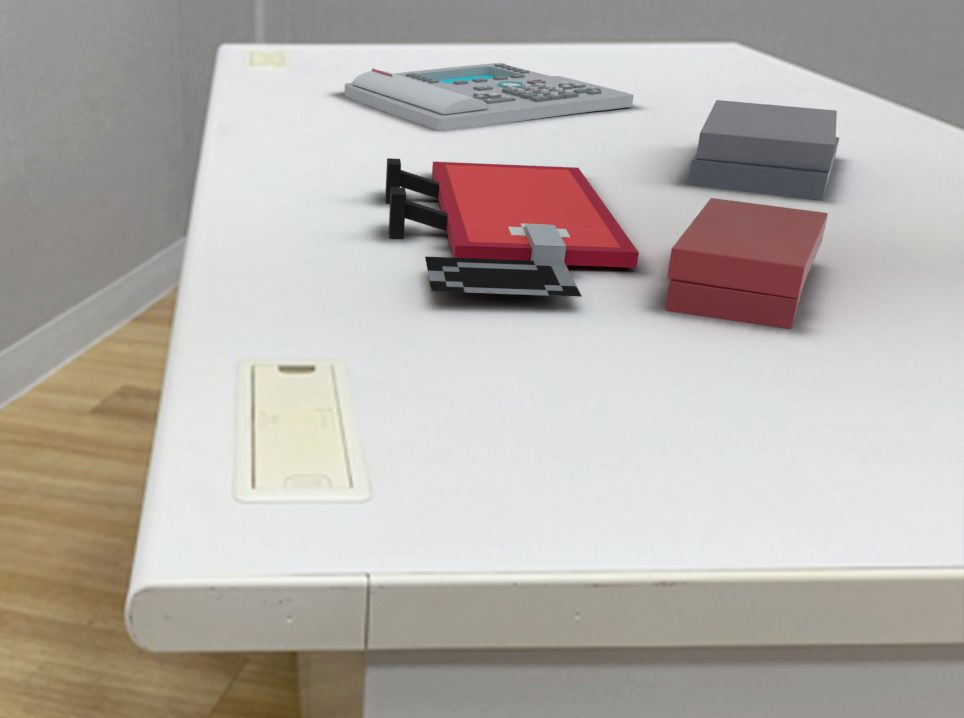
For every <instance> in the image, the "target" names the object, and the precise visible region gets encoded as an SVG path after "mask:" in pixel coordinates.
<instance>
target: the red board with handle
mask: <svg viewBox="0 0 964 718" xmlns="http://www.w3.org/2000/svg"><path fill="white" fill-rule="evenodd" d="M385 171H386V173H385V195H384V199H385V204H386V205H389V213H388V214H389V215H388V237H389V239H399V240H400V239H401V240H404V238H405V223H406V220H409V221H412V222H415V223H419V224H422V225H425V226H428V227H431V228H434V229H438V230H441V231H444V232H446V234H447V239H448V243H449V245H450V251H451V254H452V257H450V256H449V257H447V256H424V259H425V264H426V270H427V275H428V280H429V286H430V291H431V292H441V293H442V292H443V293H444V292H445V293H448V292H449V293H468V294H469V293H471V294H497V295H499V294H500V295H522V296H523V295H525V296H551V297H552V296H554V297H577V298H578V297H579V298H581V297H583V296H582V294H581V291H580V289H579V288H578V286H577V283H576V282H575V280H574V278H573V276H572V273H570V270H569V268H568V266H580V267H582V266H583V267H609V268H631V269H632V268H633V269H637V268H638V267H637V266H638V260H639V255H640V252H639V251H638V249H637V248H636V246H635V245H634V243H633V242H632V241H631V239H630V238H629V237H628V235H627V234H626V232H625V231H624V229H623V228H622V227H621V225H620V224H619V222H618V221H617V219H616V218H615V217H614V215H613V214H612V213H611V211H610V210H609V208H608V207H607V205H606V204H605V203H604V201H603V200H602V199H601V197H600V196H599V194H598V193H597V191H596V190H595V189H594V187H593V185H592V184H591V183H590V182H589V180H588V179H587V177H586V176H585V174H584V173H583V172H582V170H581V169H580V168H579V167H577V166H575V167H574V166H549V165H527V164H525V165H524V164H506V163H505V164H502V163H476V162H458V161H457V162H453V161H452V162H451V161H432V168H431V176H432V179H430V178H427V177H424V176H422V175H419V174H415V173H412V172H409V171H406V170H403V169H402V161H401V158H390V157H389V158H388V157H387V158H386V170H385ZM406 190H409V191H412V192H416V193H419V194H421V195H425V196H428V197H431V198H434V199H437V200H438V203H439V207H440V209H436V208H433V207H430V206H427V205H424V204H421V203H418V202H414V201H411V200H408V199H407V191H406Z"/></svg>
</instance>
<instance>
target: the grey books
mask: <svg viewBox="0 0 964 718" xmlns="http://www.w3.org/2000/svg"><path fill="white" fill-rule="evenodd" d="M837 118H838V110H834V109H825V108H824V109H823V108H814V107H802V106H801V107H800V106H791V105H790V106H789V105H777V104H766V103H755V102H745V101H732V100H723V99H716V100H715V102H714V104H713V106H712V107H711V110H710V112H709V113H708V116H707V117H706V120H705V122H704V124H703V126H702V128H701V130H700V131H699V137H698V143H697V148H696V153H695V155H694V156H693V158H692V159H691V161H690V167H689V174H688V181H687V186H693V187H703V188H710V189H711V188H712V189H720V190H728V191H736V192H744V193H753V194H761V195H769V196H780V197H788V198H795V199H796V198H797V199H802V200H803V199H804V200H813V201H821V202H822V201H823V200H824V196H825V193H826V189H827V187H828V183H829V180H830V176H831V173H832V171H833V168H834V167H833V166H834V163H835V160H836V155H837V151H838V146H839V142H840V137H839V136H837Z"/></svg>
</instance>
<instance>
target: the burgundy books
mask: <svg viewBox="0 0 964 718" xmlns="http://www.w3.org/2000/svg"><path fill="white" fill-rule="evenodd" d="M828 216H829V213H828V212H823V211H817V210H816V211H815V210H814V211H813V210H807V209H800V208H799V209H798V208H794V207H793V208H792V207H784V206H777V205H769V204H761V203H753V202H745V201H739V200H738V201H737V200H731V199H722V198H716V197H710V198H709V200H708V201H706V204H705V205H704V206H703V208H702V209H701V210H700V211H699V213H698V214H697V215H696V217H694V219H693V220H692V221H691V223H690V224H689V225H688V227H687V228H686V230H685V231H684V232H683V233H682V234H681V236H680V237H679V238H678V240H677V241H676V242H675V244H674V245H673V246H672V248H671V251H670V257H669V264H668V269H667V274H666V275H667V276H666V278H667V280H670V281H669V282H668V288H667V294H666V300H665V307H664V311H665V312H671V313H678V314H685V315H691V316H697V317H698V316H699V317H705V318H711V319H712V318H713V319H719V320H724V321H731V322H738V323H745V324H751V325H758V326H764V327H771V328H777V329H783V330H792V328H793V325H794V323H795V322H794V321H795V320H796V319H795V318H796V315H797V311H798V308H799V304H800V301H801V298H802V294H803V290H804V288H805V287H804V286H805V285H806V284H805V283H806V281H807V279H808V275H809V273H810V270H811V268H812V266H813V263H814V261H815V259H816V256H817V255H818V253H819V249H820V247H821V244H822V242H823V238H824V235H825V229H826V225H827V222H828V221H827V220H828Z"/></svg>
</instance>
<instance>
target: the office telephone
mask: <svg viewBox="0 0 964 718" xmlns="http://www.w3.org/2000/svg"><path fill="white" fill-rule="evenodd" d="M344 97H345V98H348V99H351V100H353V101H356V102H359V103H361V104H364V105H366V106H370V107H373V108H375V109H377V110H379V111H383V112H385V113H388V114H390V115H394V116H396V117H398V118H402V119H404V120H408V121H411V122H413V123H416V124H419V125H422V126H424V127H427V128H430V129H433V130H435V131H448V130H456V129H465V128H466V129H467V128H473V127H475V128H476V127H484V126H491V125H499V124H507V123H514V122H515V123H516V122H522V121H523V122H524V121H530V120H536V119H537V120H538V119H543V118H544V119H545V118H551V117H553V118H554V117H559V116H567V115H575V114H582V113H590V112H598V111H609V110H616V109H623V108H631V107H633V103H634V94H632V93H629V92H626V91H622V90H618V89H614V88H609V87H605V86H601V85H599V84H593V83H589V82H587V81H586V82H585V81H581V80H577V79H575V78H570V77H566V76H561V75H549V74H545V73H540V72H536V71H532V70H528V69H524V68H519V67H516V66H514V65H513V66H512V65H510V64H509V65H508V64H506V63H504V62H493V63H483V64H472V65H462V66H453V67H450V66H449V67H442V68H432V69H431V68H430V69H421V70H412V71H403V72H396V73H395V72H389V71H385V70H379V69H376V68H371V70H370V71H365V72H363V73H361V74H359V75H357V76H356V77H355V78H354V79H353V80H352V82H346V83H344Z"/></svg>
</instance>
